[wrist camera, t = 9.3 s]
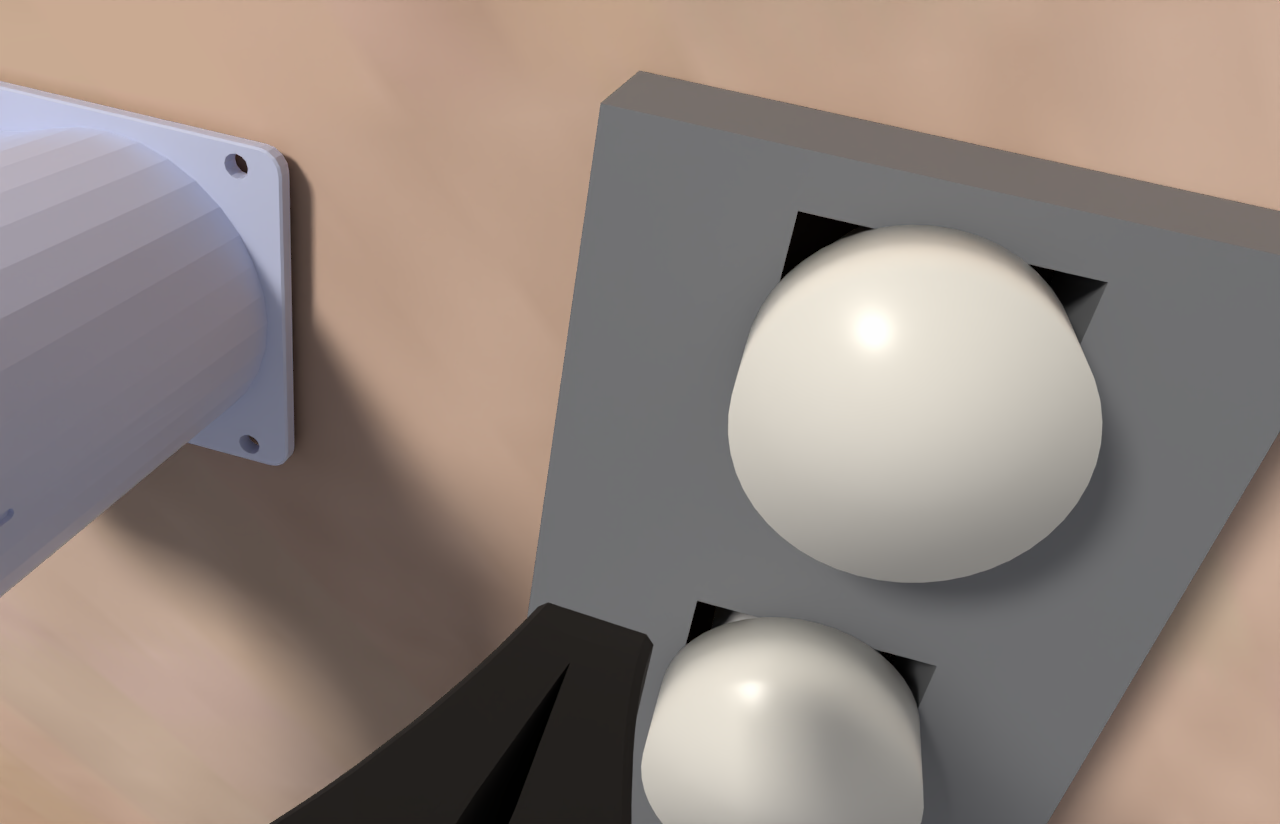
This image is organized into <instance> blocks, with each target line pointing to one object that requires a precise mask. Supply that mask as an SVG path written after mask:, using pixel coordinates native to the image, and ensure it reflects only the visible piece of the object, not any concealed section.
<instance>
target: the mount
mask: <svg viewBox="0 0 1280 824" xmlns="http://www.w3.org/2000/svg"><path fill="white" fill-rule="evenodd" d="M798 211H800V212H804V213H809V214H813V215H817V216H822V217H826V218H830V219H835V220H839V221H843V222H848V223H852V224H856V225H861V226H865V227H869V228H874V229H878V228H883V227H889V226H901V225H931V226H939V227H945V228H951V229H957V230H961V231H964V232H967V233H971V234H974V235H977V236H980V237H983V238H985V239H987V240H989V241H992V242H994V243H996V244H998V245H1001V246H1002V247H1004V248H1005V249H1007V250H1009V251H1010V252H1012V253H1013V254H1015V255H1017V256H1018V257H1020V258H1021V259H1022V260H1023V261H1025V262H1026V263H1027V264H1030V265H1035V266H1039V267H1043V268H1048V269H1052V270H1056V271H1055V274H1054V276H1053V279H1052V281H1051V283H1050V287H1051V288H1052V290H1053V291H1054V293H1055V294H1056V296H1057V297H1058V299H1059V300H1060V302H1061V303H1062V305H1063V307H1064V309H1065V312H1066V314H1067V316H1068V318H1069V320H1070V323H1071V325H1072V327H1073V330H1074V332H1075V334H1076V337H1077V339H1078V341H1079V344H1080V346H1081V348H1082V351H1083V353H1084V355H1085V358H1086V360H1087V362H1088V365H1089V367H1090V369H1091V372H1092V374H1093V376H1094V379H1095V382H1096V386H1097V390H1098V393H1099V397H1100V402H1101V412H1102V437H1101V446H1100V450H1099V455H1098V459H1097V463H1096V466H1095V469H1094V471H1093V474H1092V476H1091V479H1090V481H1089V484H1088V486H1087V487H1086V489H1085V491H1084V492H1083V494H1082V496H1081V498H1080V499H1079V501H1078V503H1077V504H1076V505H1075V507H1074V508H1073V509H1072V510H1071V512H1070V513H1069V514H1068V515H1067V517H1066V518H1065V519H1064V520H1063V521H1062V522H1061V523H1060V524H1059V525H1058V526H1057V527H1056V528H1055V529H1054V530H1053V531H1052V532H1051V533H1050V534H1049V535H1048V536H1047V537H1045V538H1044V539H1043V540H1041V541H1040V542H1039V543H1037V544H1036V545H1035V546H1033V547H1032V548H1031V549H1029V550H1027V551H1026V552H1024V553H1022V554H1020V555H1019V556H1017V557H1015V558H1013V559H1012V560H1010V561H1008V562H1005V563H1003V564H1001V565H998V566H996V567H994V568H992V569H989V570H986V571H983V572H979V573H976V574H973V575H970V576H966V577H961V578H956V579H951V580H946V581H936V582H925V583H900V582H891V581H882V580H875V579H871V578H866V577H861V576H857V575H854V574H850V573H847V572H844V571H841V570H838V569H835V568H833V567H831V566H829V565H826V564H824V563H822V562H820V561H817V560H815V559H814V558H812V557H810V556H809V555H807V554H805V553H803V552H802V551H800V550H798V549H797V548H796V547H794V546H793V545H792V544H790V543H789V542H788V541H786V540H785V539H784V538H782V537H781V536H780V535H779V534H778V533H777V532H776V531H775V530H774V529H773V528H772V527H771V526H770V525H768V524H767V522H766V521H765V520H764V519H763V518H762V516H761V515H760V514H759V513H758V511H757V510H756V509H755V508H754V506H753V505H752V503H751V501H750V500H749V498H748V497H747V495H746V493H745V492H744V490H743V488H742V485H741V483H740V481H739V479H738V476H737V474H736V471H735V468H734V464H733V461H732V457H731V453H730V446H729V438H728V414H729V408H730V402H731V396H732V392H733V389H734V385H735V381H736V378H737V374H738V371H739V367H740V363H741V360H742V356H743V353H744V349H745V345H746V342H747V339H748V336H749V333H750V330H751V327H752V324H753V322H754V320H755V318H756V316H757V314H758V312H759V310H760V308H761V306H762V305H763V303H764V302H765V300H766V299H767V297H768V296H769V294H770V293H771V291H772V290H773V289H774V288H775V287H776V286H777V284H778V283H779V282H780V279H781V275H782V271H783V267H784V263H785V259H786V256H787V252H788V248H789V244H790V240H791V236H792V232H793V229H794V225H795V221H796V217H797V213H798ZM1279 432H1280V211H1276V210H1272V209H1267V208H1263V207H1258V206H1254V205H1249V204H1245V203H1240V202H1235V201H1231V200H1226V199H1222V198H1217V197H1213V196H1208V195H1204V194H1199V193H1194V192H1190V191H1185V190H1181V189H1176V188H1172V187H1167V186H1163V185H1158V184H1153V183H1149V182H1144V181H1140V180H1135V179H1131V178H1126V177H1122V176H1117V175H1112V174H1108V173H1103V172H1099V171H1094V170H1090V169H1085V168H1080V167H1076V166H1071V165H1067V164H1062V163H1058V162H1053V161H1049V160H1044V159H1039V158H1035V157H1030V156H1026V155H1021V154H1017V153H1012V152H1008V151H1003V150H998V149H994V148H989V147H985V146H980V145H976V144H971V143H967V142H962V141H957V140H953V139H948V138H944V137H939V136H935V135H930V134H926V133H921V132H916V131H912V130H907V129H903V128H898V127H894V126H889V125H885V124H880V123H875V122H871V121H866V120H862V119H857V118H853V117H848V116H843V115H839V114H834V113H830V112H825V111H821V110H816V109H812V108H807V107H802V106H798V105H793V104H789V103H784V102H780V101H775V100H771V99H766V98H761V97H757V96H752V95H748V94H743V93H739V92H734V91H730V90H725V89H720V88H716V87H711V86H707V85H702V84H698V83H693V82H689V81H684V80H679V79H675V78H670V77H666V76H661V75H657V74H652V73H648V72H643V71H638V72H637V73H636V74H635V75H634V76H633V77H631V78H630V79H629V80H628V81H627V82H625V83H624V84H623V85H622V86H621V87H619V88H618V89H617V90H616V91H615V92H614V93H612V94H611V95H610V96H609V97H608V98H606V99H605V100H604V101H603V102H602V103H601V105H600V112H599V119H598V126H597V133H596V140H595V147H594V154H593V161H592V168H591V175H590V182H589V189H588V196H587V203H586V210H585V217H584V224H583V231H582V238H581V245H580V252H579V259H578V266H577V273H576V280H575V287H574V294H573V301H572V308H571V315H570V322H569V329H568V336H567V343H566V350H565V357H564V364H563V371H562V378H561V385H560V392H559V399H558V406H557V413H556V420H555V427H554V434H553V441H552V448H551V455H550V462H549V469H548V476H547V483H546V490H545V497H544V504H543V511H542V518H541V525H540V532H539V539H538V546H537V553H536V560H535V567H534V575H533V582H532V589H531V596H530V603H529V610H528V617H529V616H530V615H531V613H532V612H533V611H534V610H535V609H536V608H537V607H538V606H540V605H543V604H545V603H548V602H549V603H552V604H555V605H558V606H561V607H564V608H567V609H570V610H573V611H576V612H579V613H582V614H586V615H589V616H592V617H595V618H598V619H601V620H604V621H607V622H610V623H613V624H616V625H619V626H622V627H626V628H629V629H632V630H635V631H638V632H641V633H644V634H647V636H648V637H649V639H650V640H651V642H652V643H653V645H654V646H653V650H652V654H651V659H650V663H649V667H648V671H647V676H646V680H645V684H644V688H643V693H642V697H641V701H640V705H639V710H638V714H637V719H636V728H635V738H634V751H633V777H632V824H663V823H662V822H661V821H660V819H659V818H658V817H657V816H656V814H655V812H654V810H653V809H652V807H651V805H650V803H649V801H648V799H647V796H646V793H645V791H644V787H643V782H642V774H641V764H642V757H643V752H644V748H645V744H646V740H647V736H648V733H649V729H650V725H651V721H652V718H653V714H654V710H655V706H656V703H657V699H658V695H659V691H660V687H661V684H662V681H663V678H664V675H665V672H666V670H667V668H668V667H669V665H670V663H671V661H672V660H673V659H674V657H675V656H676V655H677V654H678V652H679V651H680V650H681V649H682V648H684V647H685V646H686V642H687V638H688V634H689V630H690V626H691V622H692V619H693V615H694V611H695V607H696V603H697V601H700V602H704V603H707V604H711V605H715V606H718V607H722V608H726V609H729V610H733V611H737V612H740V613H744V614H748V615H751V616H755V617H759V618H762V617H783V618H792V619H800V620H805V621H810V622H815V623H819V624H822V625H825V626H828V627H831V628H834V629H837V630H840V631H842V632H844V633H846V634H849V635H851V636H853V637H855V638H857V639H858V640H860V641H862V642H863V643H865V644H867V645H869V646H870V647H871V648H873V649H876V650H880V651H883V652H887V653H891V654H894V655H897V656H896V658H895V661H894V663H893V666H894V667H895V669H896V670H897V671H898V672H899V673H900V675H901V676H902V677H903V678H904V680H905V682H906V683H907V685H908V687H909V688H910V690H911V692H912V694H913V697H914V699H915V702H916V704H917V708H918V713H919V718H920V738H921V758H922V778H923V800H924V810H923V816H922V821H921V824H1047V823H1048V821H1049V819H1050V818H1051V816H1052V814H1053V812H1054V811H1055V809H1056V807H1057V806H1058V804H1059V802H1060V801H1061V799H1062V797H1063V796H1064V794H1065V792H1066V791H1067V789H1068V787H1069V786H1070V784H1071V782H1072V780H1073V779H1074V777H1075V775H1076V774H1077V772H1078V770H1079V769H1080V767H1081V765H1082V764H1083V762H1084V760H1085V759H1086V757H1087V755H1088V754H1089V752H1090V750H1091V748H1092V747H1093V745H1094V743H1095V742H1096V740H1097V738H1098V737H1099V735H1100V733H1101V732H1102V730H1103V728H1104V727H1105V725H1106V723H1107V722H1108V720H1109V718H1110V716H1111V715H1112V713H1113V711H1114V710H1115V708H1116V706H1117V705H1118V703H1119V701H1120V700H1121V698H1122V696H1123V695H1124V693H1125V691H1126V690H1127V688H1128V686H1129V684H1130V683H1131V681H1132V679H1133V678H1134V676H1135V674H1136V673H1137V671H1138V669H1139V668H1140V666H1141V664H1142V663H1143V661H1144V659H1145V658H1146V656H1147V654H1148V652H1149V651H1150V649H1151V647H1152V646H1153V644H1154V642H1155V641H1156V639H1157V637H1158V636H1159V634H1160V632H1161V631H1162V629H1163V627H1164V626H1165V624H1166V622H1167V621H1168V619H1169V617H1170V615H1171V614H1172V612H1173V610H1174V609H1175V607H1176V605H1177V604H1178V602H1179V600H1180V599H1181V597H1182V595H1183V594H1184V592H1185V590H1186V589H1187V587H1188V585H1189V583H1190V582H1191V580H1192V578H1193V577H1194V575H1195V573H1196V572H1197V570H1198V568H1199V567H1200V565H1201V563H1202V562H1203V560H1204V558H1205V557H1206V555H1207V553H1208V551H1209V550H1210V548H1211V546H1212V545H1213V543H1214V541H1215V540H1216V538H1217V536H1218V535H1219V533H1220V531H1221V530H1222V528H1223V526H1224V525H1225V523H1226V521H1227V519H1228V518H1229V516H1230V514H1231V513H1232V511H1233V509H1234V508H1235V506H1236V504H1237V503H1238V501H1239V499H1240V498H1241V496H1242V494H1243V493H1244V491H1245V489H1246V487H1247V486H1248V484H1249V482H1250V481H1251V479H1252V477H1253V476H1254V474H1255V472H1256V471H1257V469H1258V467H1259V466H1260V464H1261V462H1262V461H1263V459H1264V457H1265V455H1266V454H1267V452H1268V450H1269V449H1270V447H1271V445H1272V444H1273V442H1274V440H1275V439H1276V437H1277V435H1278V434H1279ZM528 617H527V618H528Z"/></svg>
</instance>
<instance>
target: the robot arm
mask: <svg viewBox="0 0 1280 824" xmlns="http://www.w3.org/2000/svg"><path fill="white" fill-rule="evenodd" d="M236 154H237V155H239V156H241V157H242V158H243V159H244V160H245V161H246V163H247V167H248V172H247V173H245V172H243V171H241V170H240V168H239V167H238V166H237V164H236V160H235V156H236ZM249 436H251V437H253V438H255V439H256V441H257V442H258V444H259V445H257V444H255V443H253V442H252V441H251V439H250V438H249ZM186 443H190V444H194V445H197V446H201V447H205V448H208V449H212V450H216V451H220V452H223V453H227V454H231V455H234V456H238V457H242V458H245V459H249V460H253V461H256V462H260V463H264V464H268V465H274V466H278V465H281V464H283V463H284V462H285V461H286V460H287V459H288V458H289V457H290V456H291V455H292V454H293V452H294V393H293V340H292V287H291V233H290V180H289V168H288V163H287V161H286V160H285V158H284V156H283V154H281V153H280V152H279V151H278V150H277V149H276V148H275V147H273V146H270V145H268V144H265V143H261V142H257V141H252V140H248V139H244V138H240V137H235V136H231V135H227V134H223V133H218V132H214V131H210V130H206V129H202V128H197V127H193V126H189V125H185V124H180V123H176V122H172V121H168V120H163V119H159V118H155V117H151V116H147V115H142V114H138V113H134V112H130V111H125V110H121V109H117V108H113V107H108V106H104V105H100V104H96V103H91V102H87V101H83V100H79V99H75V98H70V97H66V96H62V95H58V94H53V93H49V92H45V91H41V90H36V89H32V88H28V87H24V86H19V85H15V84H11V83H7V82H3V81H0V597H1V596H3V595H4V594H5V593H6V592H8V591H9V590H10V589H11V588H12V587H14V586H15V585H16V584H17V583H18V582H20V581H21V580H22V579H23V578H24V577H26V576H27V575H28V574H29V573H30V572H32V571H33V570H34V569H35V568H36V567H38V566H39V565H40V564H41V563H43V562H44V561H45V560H46V559H47V558H49V557H50V556H51V555H52V554H53V553H55V552H56V551H57V550H58V549H59V548H61V547H62V546H63V545H64V544H65V543H67V542H68V541H69V540H70V539H71V538H73V537H74V536H75V535H76V534H77V533H79V532H80V531H81V530H82V529H84V528H85V527H86V526H87V525H88V524H90V523H91V522H92V521H93V520H94V519H96V518H97V517H98V516H99V515H100V514H102V513H103V512H104V511H105V510H106V509H108V508H109V507H110V506H111V505H112V504H114V503H115V502H116V501H117V500H119V499H120V498H121V497H122V496H123V495H125V494H126V493H127V492H128V491H129V490H131V489H132V488H133V487H134V486H135V485H137V484H138V483H139V482H140V481H141V480H143V479H144V478H145V477H146V476H147V475H149V474H150V473H151V472H152V471H154V470H155V469H156V468H157V467H158V466H160V465H161V464H162V463H163V462H164V461H166V460H167V459H168V458H169V457H170V456H172V455H173V454H174V453H175V452H176V451H178V450H179V449H180V448H181V447H182V446H184V445H185V444H186ZM653 646H654V645H653V643H652V642H651V640H650V639H649V637H648V636H647V634H644V633H641V632H638V631H635V630H632V629H629V628H626V627H622V626H619V625H616V624H613V623H610V622H607V621H604V620H601V619H598V618H595V617H592V616H589V615H586V614H582V613H579V612H576V611H573V610H570V609H567V608H564V607H561V606H558V605H555V604H552V603H549V602H548V603H545V604H543V605H540V606H538V607H537V608H536V609H535V610H534V611H533V612H532V613H531V615H530V616H529V617H528V618H527V619H526V620H525V621H524V622H523V623H522V624H521V625H520V626H519V627H518V628H517V629H516V630H515V631H514V632H513V633H512V634H511V635H510V636H509V637H508V638H507V639H506V640H505V641H504V642H503V643H502V644H501V645H500V646H499V647H498V648H497V649H496V650H495V651H494V652H493V653H492V654H490V655H489V656H488V657H487V658H486V659H485V660H484V661H483V662H482V663H481V664H480V665H478V666H477V667H476V668H475V669H474V670H473V671H472V672H471V673H470V674H469V675H468V676H466V677H465V678H464V679H463V680H462V681H461V682H459V683H458V684H457V685H456V686H455V687H454V688H452V689H451V690H450V691H449V692H448V693H447V694H445V695H444V696H443V697H442V698H441V699H439V700H438V701H437V702H436V703H435V704H434V705H432V706H431V707H430V708H429V709H428V710H427V711H425V712H424V713H423V714H422V715H421V716H419V717H418V718H417V719H416V720H414V721H413V722H412V723H411V724H410V725H408V726H407V727H406V728H404V729H403V730H402V731H400V732H399V733H398V734H396V735H395V736H394V737H393V738H391V739H390V740H389V741H387V742H386V743H385V744H383V745H382V746H381V747H379V748H378V749H377V750H375V751H374V752H373V753H372V754H370V755H369V756H368V757H366V758H365V759H364V760H362V761H361V762H360V763H358V764H357V765H356V766H354V767H353V768H352V769H350V770H349V771H347V772H346V773H345V774H343V775H342V776H340V777H339V778H338V779H336V780H335V781H333V782H332V783H330V784H329V785H328V786H326V787H325V788H323V789H322V790H320V791H319V792H317V793H316V794H314V795H313V796H311V797H310V798H308V799H307V800H305V801H304V802H302V803H301V804H299V805H298V806H296V807H295V808H293V809H292V810H290V811H288V812H287V813H285V814H284V815H282V816H281V817H279V818H278V819H276V820H275V821H273V822H271V823H270V824H632V777H633V751H634V738H635V728H636V719H637V714H638V710H639V705H640V701H641V697H642V693H643V688H644V684H645V680H646V676H647V671H648V667H649V663H650V659H651V654H652V650H653Z"/></svg>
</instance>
